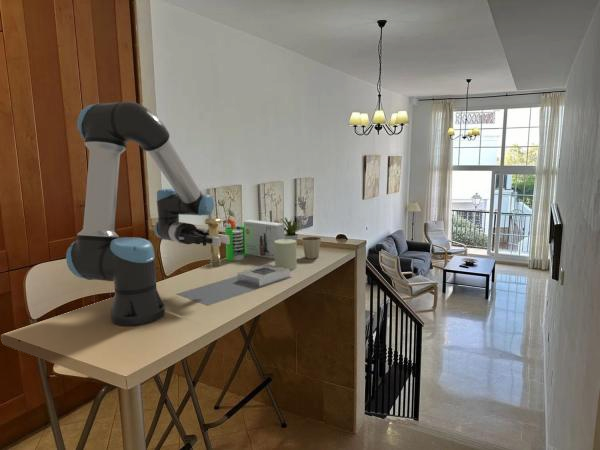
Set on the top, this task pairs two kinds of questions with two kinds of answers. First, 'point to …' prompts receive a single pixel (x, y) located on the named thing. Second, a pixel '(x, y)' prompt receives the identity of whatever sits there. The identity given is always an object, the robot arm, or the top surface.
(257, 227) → the skincare box
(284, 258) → the can
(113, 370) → the top surface
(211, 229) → the pin
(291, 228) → the house plant
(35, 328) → the top surface
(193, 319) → the top surface
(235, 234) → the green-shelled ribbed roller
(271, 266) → the grey flat rectangular block
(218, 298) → the mat
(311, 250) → the flower pot
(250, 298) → the top surface
